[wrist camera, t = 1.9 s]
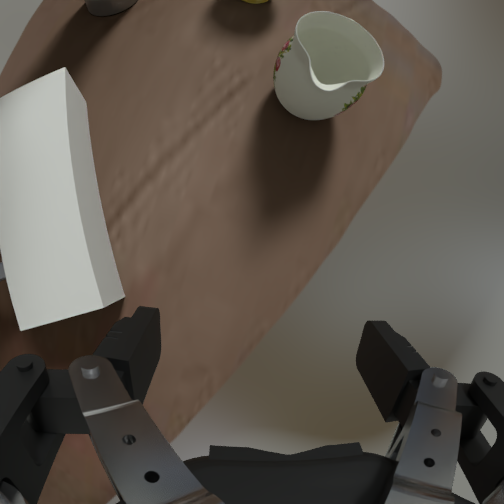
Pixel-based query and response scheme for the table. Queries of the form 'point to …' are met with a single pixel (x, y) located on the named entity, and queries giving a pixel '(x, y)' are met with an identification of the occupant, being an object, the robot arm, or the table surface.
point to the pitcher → (325, 66)
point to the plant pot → (255, 1)
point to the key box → (52, 206)
